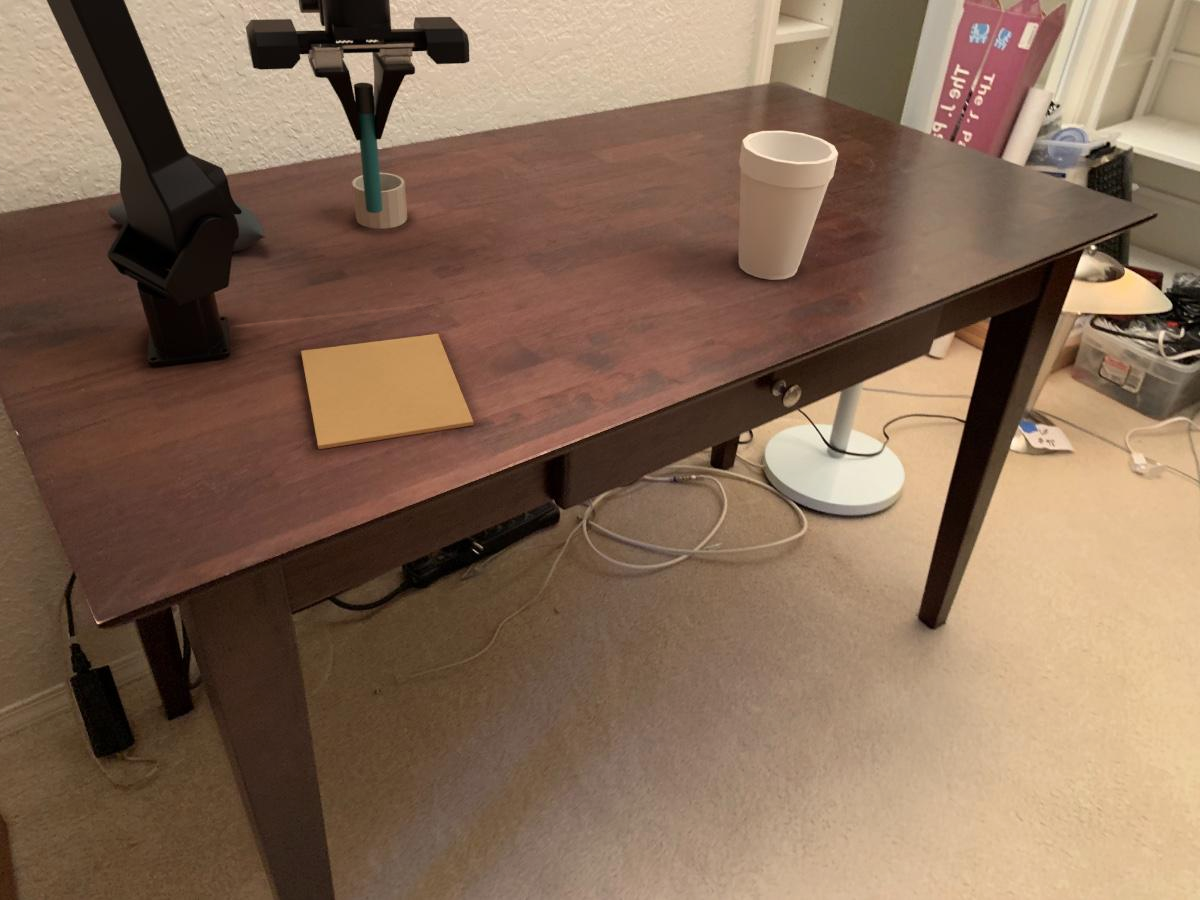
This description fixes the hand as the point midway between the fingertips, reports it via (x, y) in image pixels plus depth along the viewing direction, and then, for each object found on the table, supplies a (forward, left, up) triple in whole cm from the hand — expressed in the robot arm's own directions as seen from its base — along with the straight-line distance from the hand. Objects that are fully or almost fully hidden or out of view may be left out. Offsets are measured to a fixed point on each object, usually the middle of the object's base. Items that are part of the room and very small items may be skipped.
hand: (368, 138), depth 87 cm
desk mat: (-23, +3, -13) cm, 27 cm away
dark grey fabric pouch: (+9, +18, -13) cm, 24 cm away
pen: (0, 0, -7) cm, 7 cm away
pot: (+10, -2, -13) cm, 16 cm away
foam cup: (-10, -40, -13) cm, 43 cm away
